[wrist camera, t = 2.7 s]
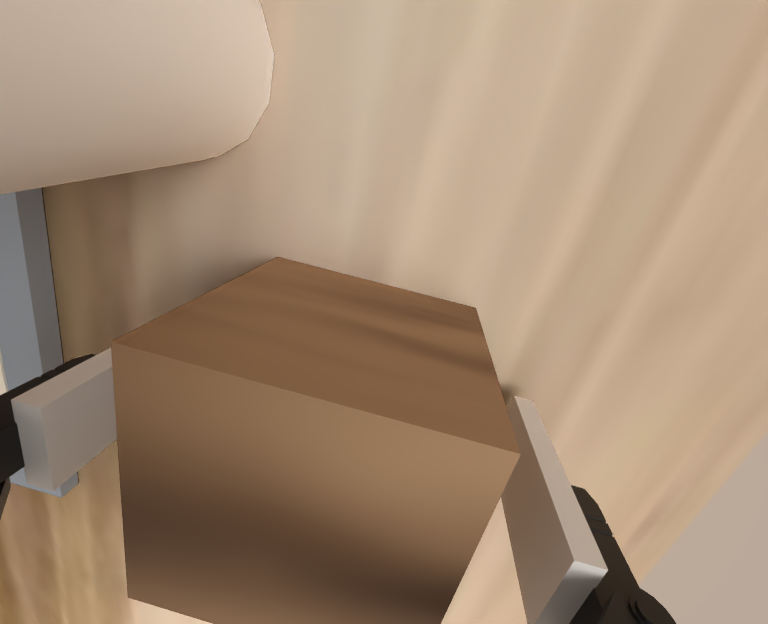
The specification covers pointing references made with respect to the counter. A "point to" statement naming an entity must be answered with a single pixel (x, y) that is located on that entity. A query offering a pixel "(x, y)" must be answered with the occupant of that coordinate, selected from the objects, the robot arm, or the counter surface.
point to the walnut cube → (307, 450)
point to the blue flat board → (27, 302)
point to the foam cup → (126, 85)
